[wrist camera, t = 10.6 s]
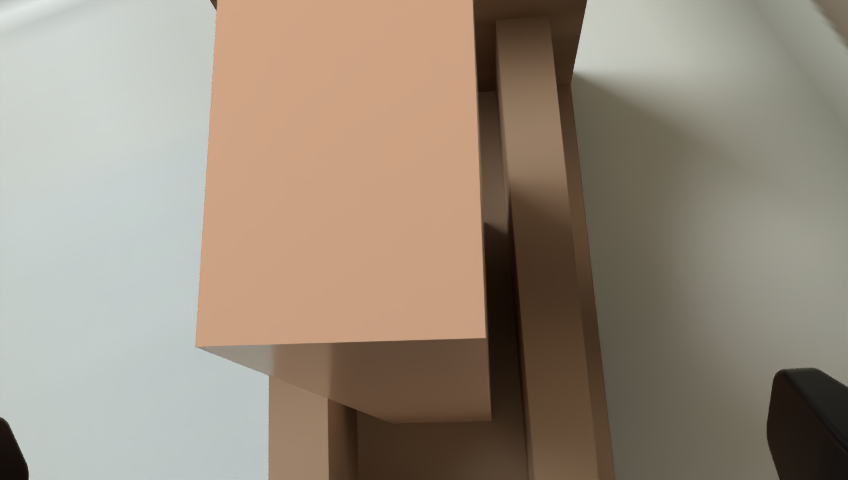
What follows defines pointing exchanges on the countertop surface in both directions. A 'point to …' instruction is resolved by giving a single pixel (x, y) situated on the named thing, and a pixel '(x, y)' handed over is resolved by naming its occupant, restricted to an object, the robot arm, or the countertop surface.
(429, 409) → the clay strip
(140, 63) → the countertop surface
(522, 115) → the drying rack
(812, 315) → the countertop surface
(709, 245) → the countertop surface
